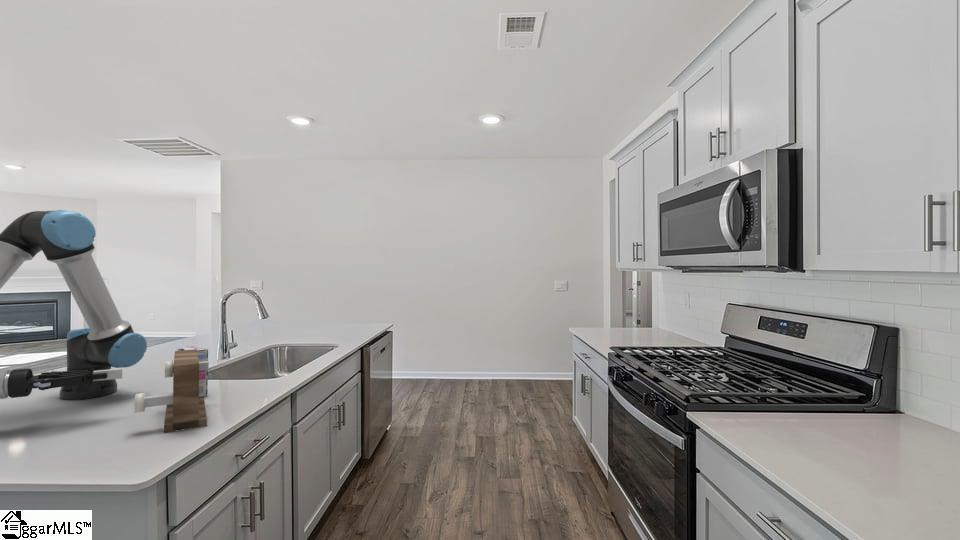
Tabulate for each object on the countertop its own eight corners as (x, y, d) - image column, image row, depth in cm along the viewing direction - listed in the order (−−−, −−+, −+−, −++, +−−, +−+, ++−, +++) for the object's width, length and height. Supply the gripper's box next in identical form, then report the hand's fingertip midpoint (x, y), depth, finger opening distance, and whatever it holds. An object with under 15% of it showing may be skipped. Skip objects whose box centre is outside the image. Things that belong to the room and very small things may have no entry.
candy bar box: (208, 396, 156) (209, 349, 156) (193, 400, 151) (193, 351, 151) (191, 391, 162) (192, 345, 161) (176, 394, 157) (177, 347, 157)
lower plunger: (136, 409, 124) (136, 391, 124) (186, 403, 131) (186, 386, 131) (134, 415, 120) (134, 396, 120) (186, 408, 127) (186, 390, 126)
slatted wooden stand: (166, 408, 143) (167, 351, 142) (203, 403, 148) (204, 348, 148) (164, 432, 123) (164, 366, 122) (207, 425, 128) (207, 362, 128)
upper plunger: (165, 375, 142) (165, 359, 142) (207, 371, 148) (208, 356, 148) (164, 379, 138) (164, 362, 138) (208, 374, 144) (208, 359, 144)
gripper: (17, 392, 126) (124, 381, 140) (2, 404, 116) (119, 391, 129) (17, 365, 126) (124, 356, 139) (2, 375, 115) (119, 365, 129)
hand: (121, 373), depth 134 cm, fingers closed
